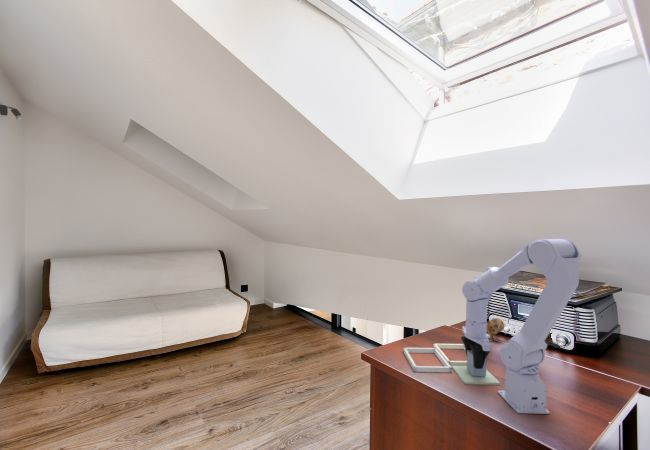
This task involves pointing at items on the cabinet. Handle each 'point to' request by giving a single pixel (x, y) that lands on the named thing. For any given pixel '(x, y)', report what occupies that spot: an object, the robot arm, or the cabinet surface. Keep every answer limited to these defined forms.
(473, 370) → the slate block
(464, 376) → the green mat
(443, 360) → the grey rectangular frame
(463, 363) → the cream rectangular frame
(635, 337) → the cabinet surface
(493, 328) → the lion figurine
